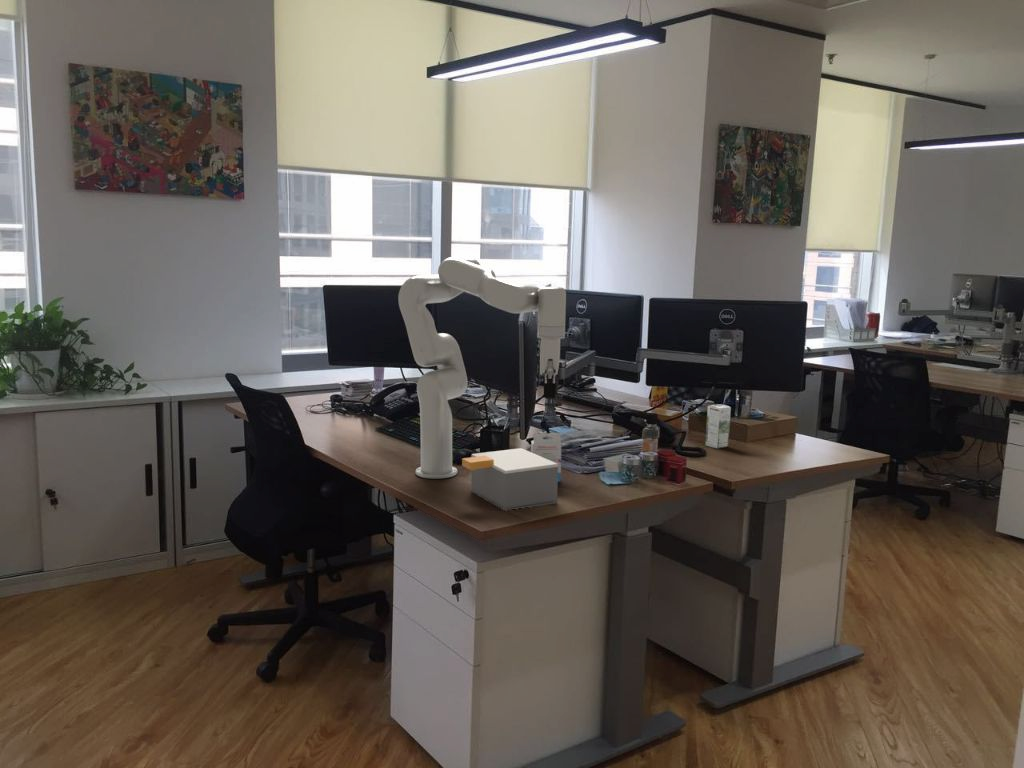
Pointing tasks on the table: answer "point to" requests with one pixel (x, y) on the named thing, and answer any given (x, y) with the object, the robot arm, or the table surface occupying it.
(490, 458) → the lid flap
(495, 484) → the carton
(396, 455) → the table surface
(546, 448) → the ink box
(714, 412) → the syrup box
